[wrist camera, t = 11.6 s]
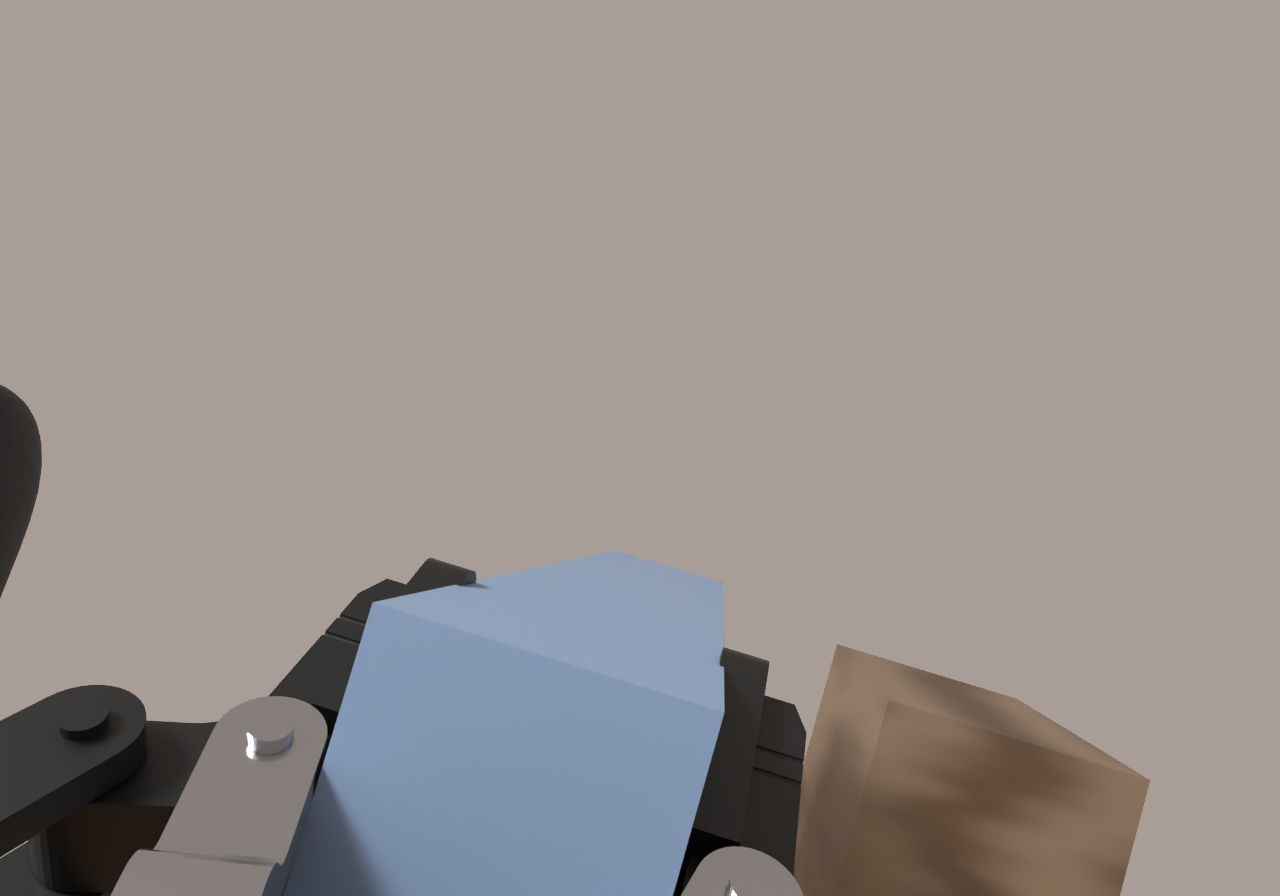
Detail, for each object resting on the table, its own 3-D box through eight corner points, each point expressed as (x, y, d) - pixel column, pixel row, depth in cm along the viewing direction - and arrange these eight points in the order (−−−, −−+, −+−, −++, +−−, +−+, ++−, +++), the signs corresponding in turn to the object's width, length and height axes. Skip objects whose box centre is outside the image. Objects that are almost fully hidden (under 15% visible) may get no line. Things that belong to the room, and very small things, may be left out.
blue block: (262, 961, 10) (372, 602, 11) (583, 659, 34) (615, 550, 34) (617, 1090, 10) (724, 712, 10) (691, 692, 34) (723, 582, 34)
